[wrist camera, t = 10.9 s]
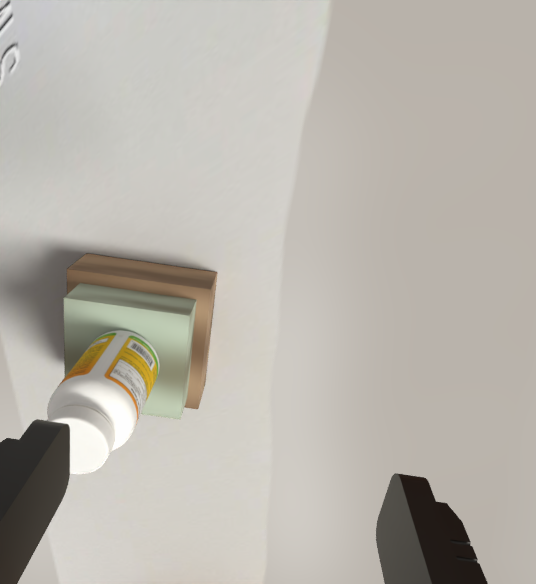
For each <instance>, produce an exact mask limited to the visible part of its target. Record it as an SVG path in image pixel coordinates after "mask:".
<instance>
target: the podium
mask: <svg viewBox="0 0 536 584" xmlns="http://www.w3.org/2000/svg"><path fill="white" fill-rule="evenodd" d="M216 281H217V272H212V271H205V270H198V269H191V268H184V267H177V266H170V265H163V264H156V263H149V262H143V261H136V260H129V259H122V258H115V257H108V256H101V255H94V254H85V255H84V256H83V257H81V258H80V259H79V260H78V261H76V262H75V263H74V264H73V265H71V266H70V267H69V268H67V295H66V296H65V297H64V359H65V377H66V376H67V374H68V373H69V372H70V371H71V369H72V368H73V367H74V366H75V364H76V363H77V362H78V360H79V359H80V358H81V357H82V355H83V354H84V353H85V351H86V350H87V349H88V347H89V346H90V345H91V344H92V343H93V342H94V340H95V339H97V338H98V337H99V336H101V335H103V334H105V333H107V332H111V331H118V330H122V331H129V332H133V333H136V334H138V335H140V336H142V337H143V338H144V339H146V340H147V341H148V342H149V343H150V344H151V345H152V346H153V348H154V350H155V351H156V353H157V356H158V359H159V373H158V376H157V379H156V381H155V383H154V385H153V388H152V390H151V392H150V394H149V397H148V399H147V401H146V403H145V405H144V408H143V410H142V412H141V414H143V415H151V416H158V417H165V418H173V419H181V416H182V413H183V409H184V407H186V408H193V409H198V408H199V404H200V400H201V397H202V393H203V390H204V386H205V380H206V371H207V362H208V353H209V344H210V335H211V326H212V317H213V308H214V299H215V290H216Z"/></svg>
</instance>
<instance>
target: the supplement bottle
mask: <svg viewBox="0 0 536 584" xmlns="http://www.w3.org/2000/svg"><path fill="white" fill-rule="evenodd" d="M158 373H159V359H158V356H157V353H156V351H155V350H154V348H153V346H152V345H151V344H150V343H149V342H148V341H147V340H146V339H144V338H143V337H142V336H140V335H138V334H136V333H133V332H129V331H122V330H118V331H111V332H107V333H105V334H103V335H101V336H99V337H98V338H97V339H95V340H94V342H93V343H92V344H91V345H90V346H89V347H88V349H87V350H86V351H85V353H84V354H83V355H82V357H81V358H80V359H79V360H78V362H77V363H76V364H75V366H74V367H73V368H72V369H71V371H70V372H69V373H68V374H67V376H66V377H65V378H64V379H63V381H62V382H61V383H60V385H59V386H58V387H57V389H56V390H55V391H54V393H53V394H52V396H51V398H50V401H49V404H48V411H47V413H48V420H47V421H51V422H58V423H65V424H68V425H69V427H70V473H71V474H85V473H90V472H93V471H95V470H97V469H98V468H100V467H101V466H102V465H103V464H104V462H105V461H106V459H107V457H108V456H109V454H110V452H111V451H113V450H115V449H117V448H119V447H120V446H122V445H123V444H124V443H125V442H126V441H127V440H128V438H129V437H130V436H131V434H132V432H133V430H134V428H135V426H136V423H137V421H138V419H139V416H140V414H141V412H142V410H143V408H144V405H145V403H146V401H147V399H148V397H149V394H150V392H151V390H152V388H153V385H154V383H155V381H156V379H157V376H158Z"/></svg>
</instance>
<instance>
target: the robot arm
mask: <svg viewBox="0 0 536 584" xmlns="http://www.w3.org/2000/svg"><path fill="white" fill-rule="evenodd" d="M69 475H70V427H69V425H68V424H65V423H58V422H51V421H44V420H35V421H33V422H32V424H31V425H30V426H29V427H28V429H27V430H26V431H25V433H24V434H23V435H22V437H21V438H20V439H19V440H17V439H11V438H6V439H5V440H3V441H2V442H0V584H17V583H18V581H19V579H20V577H21V575H22V574H23V572H24V570H25V568H26V566H27V564H28V562H29V560H30V559H31V557H32V555H33V553H34V551H35V549H36V547H37V546H38V544H39V542H40V540H41V538H42V536H43V534H44V533H45V531H46V529H47V527H48V525H49V523H50V522H51V520H52V518H53V516H54V514H55V512H56V510H57V509H58V507H59V505H60V503H61V501H62V499H63V497H64V495H65V492H66V489H67V485H68V481H69ZM376 541H377V548H378V553H379V558H380V562H381V567H382V572H383V577H384V582H385V584H487V581H486V579H485V576H484V574H483V572H482V569H481V567H480V564H479V563H477V557H476V554H475V552H474V550H473V547H472V546H470V540H469V538H468V535H467V533H466V530H465V528H464V525H463V523H462V521H461V520H460V519H459V518H458V516H457V515H456V514H455V513H454V512H453V510H452V509H451V508H450V507H449V506H448V504H447V503H441V502H436V501H435V498H434V495H433V493H432V490H431V487H430V485H429V482H428V481H427V479H426V478H423V477H416V476H410V475H403V474H394V475H393V476H392V478H391V481H390V484H389V487H388V490H387V493H386V496H385V499H384V502H383V505H382V508H381V511H380V514H379V517H378V521H377V528H376Z"/></svg>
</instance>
